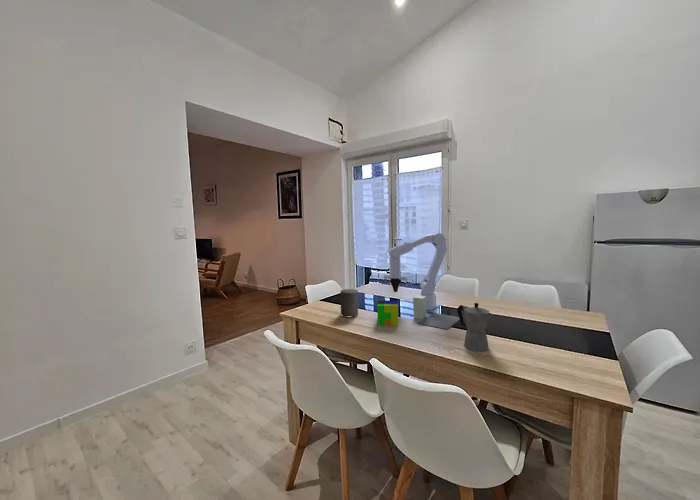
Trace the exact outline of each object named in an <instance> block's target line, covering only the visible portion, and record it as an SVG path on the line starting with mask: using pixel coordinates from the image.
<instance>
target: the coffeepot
mask: <svg viewBox="0 0 700 500" xmlns="http://www.w3.org/2000/svg"><path fill="white" fill-rule="evenodd" d="M473 305H474V306H472V307H470V306H467V305H462V304H460V305H459V306H458V307H457V308H456V311H457V315H458V317H459V319H460V320H459V322H460V324H461V325H462V326H465V327H466V332H465V336H464V343H463V347H464V348H465V349H467V350H469V351H471V352H472V351H473V352H480V353H482V352H486V351H488V350H489V343H488V342H489V341H488V335H487V332H486V329H487V325H488V321H489V320H490V318H491V317H493V314H492V313H491V312H490V310H488V309H487V308H484V307H479V303H477V302H475V303H474V304H473ZM462 311H463V313H464V314H463V313H462ZM463 315H464V317H463ZM464 321H465V322H464Z"/></svg>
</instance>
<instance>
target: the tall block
mask: <svg viewBox="0 0 700 500" xmlns="http://www.w3.org/2000/svg"><path fill="white" fill-rule="evenodd" d="M412 303H413V304H412V305H413V319H417V320H418V319H419V320H423V319H425V318H427V317H428V315H427V310H426V296H421V295H418V294H417V295H415V296H413V298H412Z"/></svg>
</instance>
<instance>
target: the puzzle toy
mask: <svg viewBox="0 0 700 500" xmlns="http://www.w3.org/2000/svg"><path fill="white" fill-rule="evenodd" d="M376 308H377V326H378V325H380V326H383V327H384V326H386V327H388V326H390V327H391V326H392V327H393V326H399V303H398V301H397V300H377V307H376Z"/></svg>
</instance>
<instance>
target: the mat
mask: <svg viewBox="0 0 700 500" xmlns="http://www.w3.org/2000/svg"><path fill="white" fill-rule="evenodd" d="M458 322H460V319H459V316H454V315H449V314H443V313H437V312H433V313H431V314H430V315H427V317H426V318H424V319H421V320H420V321H418V322H417V325H422V326H426V327H432V328H435V329H441V330H445V331H446V330H449V329H450V328H452V327H453V326H454V325H455V324H457V323H458Z"/></svg>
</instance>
